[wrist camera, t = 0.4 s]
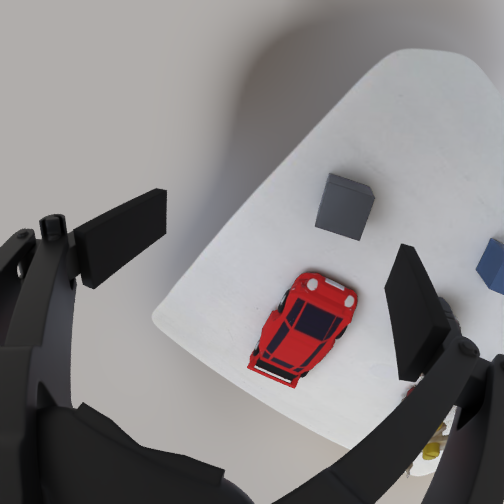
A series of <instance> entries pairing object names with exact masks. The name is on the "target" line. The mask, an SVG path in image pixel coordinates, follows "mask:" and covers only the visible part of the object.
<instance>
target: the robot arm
mask: <svg viewBox="0 0 504 504" xmlns="http://www.w3.org/2000/svg"><path fill="white" fill-rule="evenodd" d="M166 208H167V190H163V189H157V188H156V189H153V190H151V191H149V192H147V193H145V194H143V195H141V196H138V197H136V198H134V199H132V200H130V201H128V202H126V203H124V204H122V205H120V206H118V207H116V208H113V209H111V210H109V211H107V212H105V213H104V214H102V215H100V216H98V217H96V218H94V219H92V220H90V221H88V222H86V223H85V224H83V225H81V226H79V227H77V228H75V229H73V231H72V232H70V233H68V234H67V228H66V221H65V216H64V215H62V214H53V215H49V216H46V217H44V218H42V219H41V220H40V221H39V223H40V230H41V235H42V239H36V238H35V233H34V230H33V229H21V230H19V231H18V232H16V233H15V234H13V235H12V236H11V237H10V238H9V239H8V240H7V241H6V242H5V243H4V244H3V246H1V247H0V504H254V502H253V501H252V500H251V499H250V498H249V497H248V495H247V494H245V493H244V492H243V491H242V490H241V489H240V488H239V487H237V486H236V485H235V484H233V483H232V482H230V481H229V480H226V479H225V478H224V473H225V470H224V469H221V468H218V467H215V466H212V465H210V464H207V463H204V462H201V461H198V460H196V459H193V458H191V457H188V456H185V455H180V454H175V453H170V452H164V451H160V450H155V449H151V448H147V447H143V446H141V445H139V444H138V443H137V442H135V441H134V440H133V439H132V438H131V437H130V436H129V435H127V434H126V433H125V432H124V431H123V430H122V429H121V428H120V427H119V426H118V425H117V424H116V423H114V422H113V421H112V420H111V419H110V418H108V417H106V416H105V415H103V414H101V413H99V412H98V411H96V410H95V409H93V408H92V407H90V406H88V405H87V404H85V403H84V402H83V403H82V404H81V405H80V406H79V407H78V409H75V408H73V406H72V403H71V389H70V388H71V384H70V366H71V364H70V363H71V338H72V324H73V312H74V303H75V294H76V286H77V283H76V278H75V277H76V276H78V275H79V274H80V273H81V278H82V283H83V285H85V286H87V287H89V288H92V289H95V288H97V287H98V286H99V285H100V284H101V283H103V282H104V281H105V280H106V279H108V278H109V277H110V276H111V275H113V274H114V273H115V272H116V271H118V270H119V269H120V268H121V267H122V266H124V265H125V264H126V263H128V262H129V261H130V260H132V259H133V258H134V257H136V256H137V255H138V254H140V253H141V252H142V251H144V250H145V249H146V248H148V247H149V246H150V245H152V244H153V243H154V242H156V241H157V240H158V239H160V238H161V237H162V236H164V235H165V234H166V210H167V209H166ZM17 266H19V270H20V273H21V275H20V277H18V274H17ZM384 289H385V293H386V298H387V303H388V309H389V314H390V320H391V325H392V331H393V338H394V344H395V351H396V358H397V366H398V375H399V380H404V381H411V382H416V381H417V379H418V378H419V377H420V375H421V374H422V373H424V378H423V379H422V380H421V381H420V382H419V383H418V385H417V386H416V387H415V388H414V389H413V390H412V391H411V392H410V394H409V395H408V396H407V397H406V398H405V399H404V400H403V401H402V402H401V403H400V404H399V405H398V406H397V407H396V409H395V410H394V411H393V412H392V413H391V414H390V415H389V416H388V417H387V418H386V419H385V420H384V421H383V422H381V423H380V424H379V425H378V426H377V427H376V428H375V429H374V430H373V431H372V432H371V433H370V434H369V435H368V436H366V437H365V438H364V439H363V440H362V441H361V442H360V443H358V444H357V445H356V446H355V447H354V448H353V449H351V450H350V451H349V452H348V453H347V454H345V455H344V456H343V457H342V458H340V459H339V460H338V461H337V462H335V463H334V464H333V465H331V466H330V467H328V468H326V469H324V470H323V471H321V472H320V473H318V474H317V475H316V476H314V477H313V478H311V479H310V480H309V481H307V482H306V483H304V484H302V485H301V486H299V487H298V488H296V489H295V490H293V491H292V492H290V493H288V494H287V495H285V496H283V497H282V498H280V499H279V500H277V501H275V502H273V503H272V504H375V502H376V501H377V500H378V499H379V498H380V497H381V496H382V495H383V494H384V493H385V492H386V491H387V490H388V489H389V488H390V487H391V486H392V485H393V484H394V483H395V482H396V481H397V480H398V479H399V477H400V476H401V475H402V474H403V473H404V472H405V471H406V469H407V468H408V467H409V466H410V465H411V464H412V462H413V461H414V460H415V459H416V457H417V456H418V455H419V454H420V452H421V451H422V450H423V449H424V447H425V446H426V445H427V443H428V442H429V441H430V439H431V438H432V436H433V435H434V434H435V432H436V431H437V429H438V428H439V427H440V425H441V424H442V422H443V421H444V419H445V418H446V416H447V415H448V413H449V411H450V410H451V408H452V407H453V405H456V406H457V409H456V413H455V417H454V420H453V424H452V427H451V430H450V433H449V436H448V440H447V443H446V445H445V448H444V451H443V454H442V457H441V459H440V462H439V464H438V467H437V469H436V472H435V474H434V477H433V479H432V481H431V484H430V486H429V488H428V490H427V493H426V494H425V497H424V499H423V501H422V503H421V504H503V500H504V355H503V354H498V355H496V356H495V358H494V359H493V360H492V362H489V361H487V360H485V359H482V358H480V357H479V356H480V352H479V349H478V348H477V346H476V345H475V344H474V343H473V342H472V341H471V340H470V339H468V338H466V337H463V336H462V334H461V332H460V329H459V327H458V324H457V322H456V320H455V317H454V315H453V314H452V311H451V308H450V306H449V305H448V303H447V302H446V301H445V300H444V299H443V298H442V297H438V296H437V293H436V291H435V289H434V287H433V285H432V282H431V280H430V278H429V276H428V274H427V272H426V270H425V268H424V266H423V264H422V262H421V260H420V258H419V256H418V254H417V252H416V250H415V248H414V247H412V246H408V245H405V244H401V245H400V248H399V251H398V254H397V257H396V259H395V262H394V265H393V267H392V270H391V272H390V275H389V278H388V280H387V283H386V285H385V287H384Z"/></svg>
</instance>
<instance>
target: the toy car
mask: <svg viewBox="0 0 504 504" xmlns="http://www.w3.org/2000/svg"><path fill="white" fill-rule="evenodd" d="M357 302H358V301H357V295H356V293H355V292H354V291H353V290H350V289H348V288H346V287H344V286H342V285H340V284H338V283H336V282H334V281H332V280H330V279H328V278H326V277H324V276H322V275H320V274H319V273H308V272H306V273H303V274H301V275H300V276H299V277H298V278H297V279H296V280H295V282H294V284H293V286H292V288H291V290H288V291H287V292H286V293H285V295H284V297H283V298H282V300H281V302H280V305H279V307H278V310H275V311H272V313H271V314H270V316H269V318H268V320H267V321H266V323H265V325H264V326H263V328H262V334H261V338H260V340H259V341H258V343H257V345H256V347H255V349H254V351H253V352H252V354H251V356H250V362H249V364H248V366H247V368H248V369H250V370H253V371H255V372H257V373H259V374H261V375H264V376H266V377H268V378H270V379H273V380H275V381H277V382H280V383H282V384H284V385H287V386H289V387H292V388H294V389H295V387H296V385H297V383H298V380H299V378H300V377H302V378H303V377H305V376H306V375H307V373H308V372H309V370H311V369H312V368H313V367H314V366H315V365H316V364H317V363H319V362H320V361H321V360H322V359H323V358H324V357H325V356H326V354H327V353H328V352H329V351H330V350H331V349H332V348H333V345H334V343H335V339H339V338H340V337H341V336H342V335H343V334H344V332H345V330H346V328H347V326H348V324H349V323H351V321H352V317H353V314H354V311H355V309H356V306H357ZM255 365H256V366H258V367H259V368H262V369H265V370H267V371H269V372H271V373H273V374H276V375H278V376H280V377H283V378H284V379H288V380H290V381H291V383H288V382H286V381H283V380H281V379H279V378H276V377H274V376H272V375H269V374H267V373H265V372H263V371H261V370H258V369H256V368H254V366H255Z"/></svg>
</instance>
